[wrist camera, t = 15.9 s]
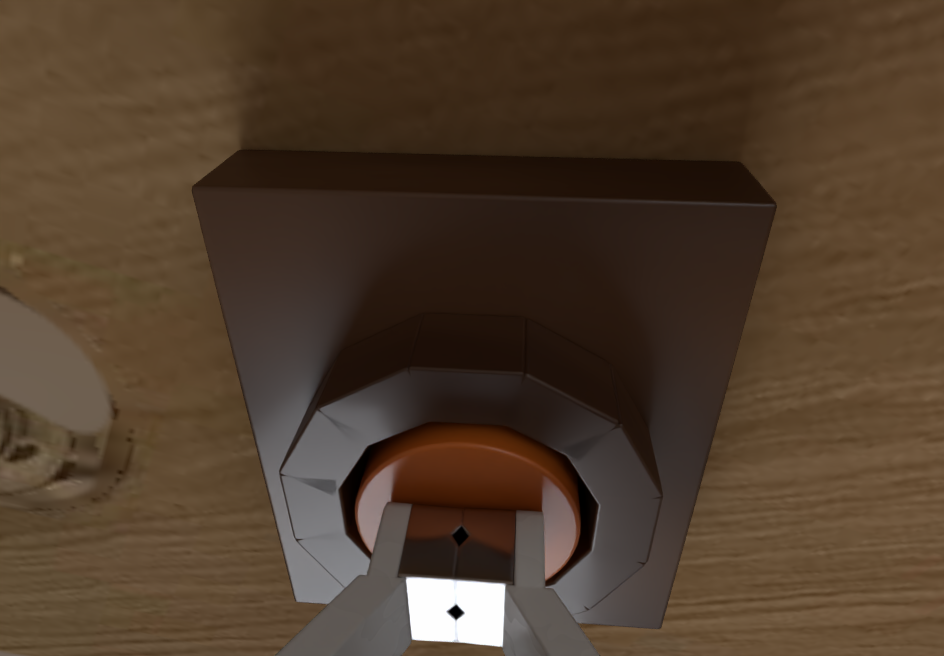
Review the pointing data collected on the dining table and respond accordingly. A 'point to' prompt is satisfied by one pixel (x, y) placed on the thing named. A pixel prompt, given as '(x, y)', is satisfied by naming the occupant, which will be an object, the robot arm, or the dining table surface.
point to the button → (473, 480)
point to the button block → (487, 336)
